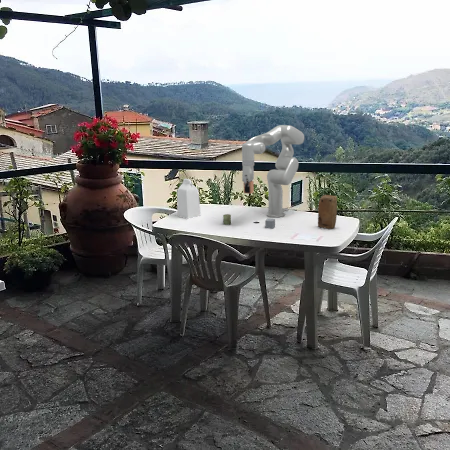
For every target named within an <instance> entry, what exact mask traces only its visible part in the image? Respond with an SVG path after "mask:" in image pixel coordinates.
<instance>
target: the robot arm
mask: <svg viewBox="0 0 450 450" xmlns="http://www.w3.org/2000/svg"><path fill="white" fill-rule="evenodd" d="M279 141H280V142H281V147H282V149H281V150H280V151H281V152H280V153H279V156H278V157H277V159H276V161H275V166H274V167H275V169H270V170H269V171H268V172H267V175H266V181H267V189H268V212H266V217H269V218H282V217H285V216H286V215H285V212H288V208H284V207H283V203H284V202H283V196H284V195H283V194H284V191H283V187H282V186H288V185H290V184H291V183H292V181H293V179H294V177H295V175H296V173H297V171H298V169H299V160H298V159H297V158H296V157H295V156H294V154H295V153H294V147H293V145H299V146H300V145H302V144H303V143H304V142H305V135H304V132H303V131H301V130H299V129H297V128H296V127H295V126H292V125H290V124H289V125H288V124H287V125H286V124H282V125H281V124H280V125H276V126H274V127H273V128H272V129H270V130H269V131H267V132H265V133H262V134H259V135H256V136H254V137H252V138H249V139H248V140H247V141H246V142H245V143H242V144H241V156H242V157H241V160H242V161H241V163H242V171H241V173H242V174H241V175H242V176H241V179H242V180H241V181H242V182H243V185H244V184H245V193H244V194H247V193H250V186H249V182H250V181H253V180H255V179H254V177H255V174H254V173H255V172H254V171H255V170H254V169H255V168H254V166H255V155H262V154H264V153H265V152H266V147H268V146H272V145H273V146H274V145H275V144H276V143H277V142H279ZM247 181H248V182H247Z"/></svg>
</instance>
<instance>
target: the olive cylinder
mask: <svg viewBox="0 0 450 450" xmlns="http://www.w3.org/2000/svg"><path fill="white" fill-rule="evenodd" d="M222 216H223V217H222V218H223V225H224V226H230V225H232V214H230V213H227V214H226V213H225V214H222Z"/></svg>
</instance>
